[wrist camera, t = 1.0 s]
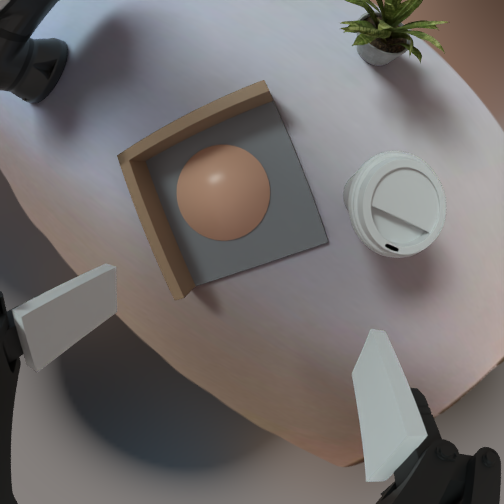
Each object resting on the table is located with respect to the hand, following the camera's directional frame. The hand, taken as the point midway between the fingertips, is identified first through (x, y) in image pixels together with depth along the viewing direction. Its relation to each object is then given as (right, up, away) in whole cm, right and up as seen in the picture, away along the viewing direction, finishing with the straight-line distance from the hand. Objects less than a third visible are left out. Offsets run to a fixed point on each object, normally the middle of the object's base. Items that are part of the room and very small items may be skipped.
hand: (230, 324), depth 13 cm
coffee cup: (+16, +11, +21) cm, 29 cm away
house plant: (+18, +33, +15) cm, 40 cm away
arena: (-3, +11, +24) cm, 27 cm away
